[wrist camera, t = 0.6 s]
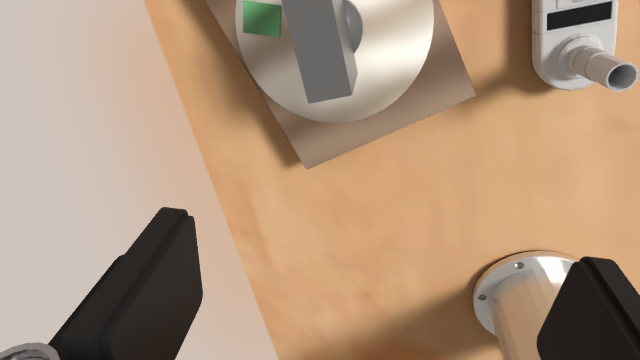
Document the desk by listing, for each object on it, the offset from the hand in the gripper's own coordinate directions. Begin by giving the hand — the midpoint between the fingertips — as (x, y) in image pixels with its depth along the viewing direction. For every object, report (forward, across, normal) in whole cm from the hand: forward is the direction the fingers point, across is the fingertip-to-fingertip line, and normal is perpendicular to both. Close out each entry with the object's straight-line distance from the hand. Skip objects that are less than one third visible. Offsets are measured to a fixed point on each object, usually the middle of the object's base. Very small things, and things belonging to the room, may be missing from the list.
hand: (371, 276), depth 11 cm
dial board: (+29, +3, -1) cm, 30 cm away
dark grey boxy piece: (+26, +4, -3) cm, 27 cm away
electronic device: (+30, -14, -5) cm, 33 cm away
